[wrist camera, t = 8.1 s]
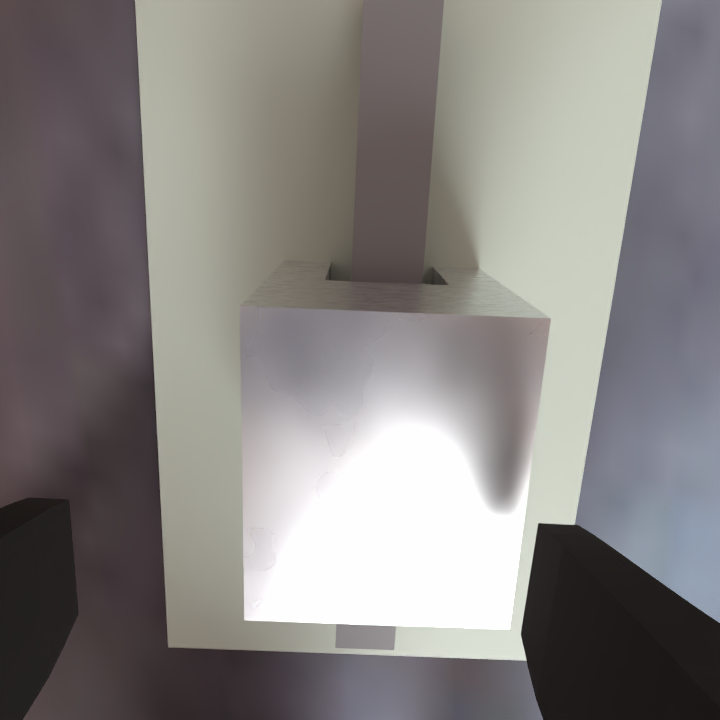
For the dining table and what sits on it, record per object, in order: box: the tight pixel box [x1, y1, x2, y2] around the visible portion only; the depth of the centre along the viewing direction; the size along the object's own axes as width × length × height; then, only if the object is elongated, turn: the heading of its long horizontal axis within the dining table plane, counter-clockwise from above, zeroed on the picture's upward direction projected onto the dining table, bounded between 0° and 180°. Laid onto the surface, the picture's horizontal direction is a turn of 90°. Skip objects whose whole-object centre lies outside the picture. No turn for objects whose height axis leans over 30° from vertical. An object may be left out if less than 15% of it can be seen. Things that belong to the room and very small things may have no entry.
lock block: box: [240, 260, 551, 629], centre depth 13 cm, size 6×5×6 cm
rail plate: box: [135, 0, 662, 660], centre depth 16 cm, size 20×12×3 cm, turn 177°
